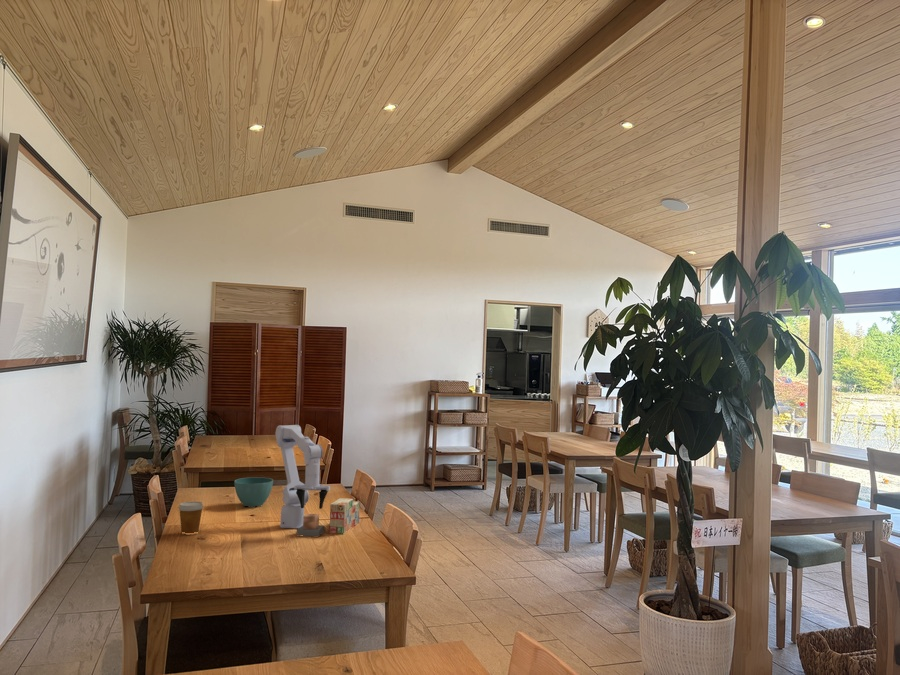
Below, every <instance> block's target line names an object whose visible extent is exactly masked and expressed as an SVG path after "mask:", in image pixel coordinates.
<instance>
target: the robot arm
mask: <svg viewBox="0 0 900 675" xmlns="http://www.w3.org/2000/svg"><path fill="white" fill-rule="evenodd" d="M274 435H275V440H276V444H277V446H278V447H279V448H280V451H281V455H282V461H283V466H284V470H285V476H286V480H287V484H286V485H285V486H284V487H283V490H282V501H283V503H284V504H283V505H282V506H281V511H280V526H279V528H281V529H284V528H285V529H299V528H300V527H301V526H303V516H305V506H306V505H307V503H308V502H309V500H310V493H309V491H318V495H319V496H318V497H319V505H318V507H319V508H318V509H319V510H322V509H323V506H324V502H325V499H326V496H327V494H328V493H329V492H330V491H331V485H327V484H325V485H324V484H320V470H321V469H320V468H321V463H320V462H321V459H322V458H323V454H324V453H323V447H322V446H321V444H316V443H314V442H313V441H312V439H310V437H309V436H304V435H303V433H302V427H301V426H300V425H299V424H290V425H288V424H287V425H280V424H279V425H278V426H277V427H276V429H275V434H274ZM295 446H297V447H298V448H299V450H301V452H302V454H303V458H304V460H303V461H304V464H305V473H304V474H305V476H304V477H305V478H304V480H305V481H304V483H303V482H301V481H300V477H299V472H298V467H297V462H296V457H295V451H294V447H295Z"/></svg>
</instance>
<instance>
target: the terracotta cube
mask: <svg viewBox="0 0 900 675" xmlns="http://www.w3.org/2000/svg"><path fill="white" fill-rule="evenodd" d="M319 522H320V514H319V513H306V514H304V516H303V529H316V528H317V527H318V526H319V525H320V523H319Z"/></svg>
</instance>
